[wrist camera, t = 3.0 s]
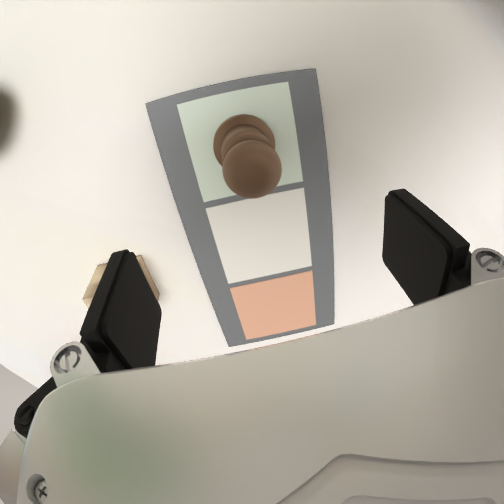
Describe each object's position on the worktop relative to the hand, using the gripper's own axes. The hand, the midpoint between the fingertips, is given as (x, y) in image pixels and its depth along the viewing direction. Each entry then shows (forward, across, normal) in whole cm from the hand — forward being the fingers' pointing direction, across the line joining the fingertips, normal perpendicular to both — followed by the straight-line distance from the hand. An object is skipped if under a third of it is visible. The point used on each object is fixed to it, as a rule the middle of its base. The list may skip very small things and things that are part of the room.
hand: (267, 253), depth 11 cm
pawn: (+14, -1, 0) cm, 14 cm away
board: (+15, -1, +8) cm, 17 cm away
